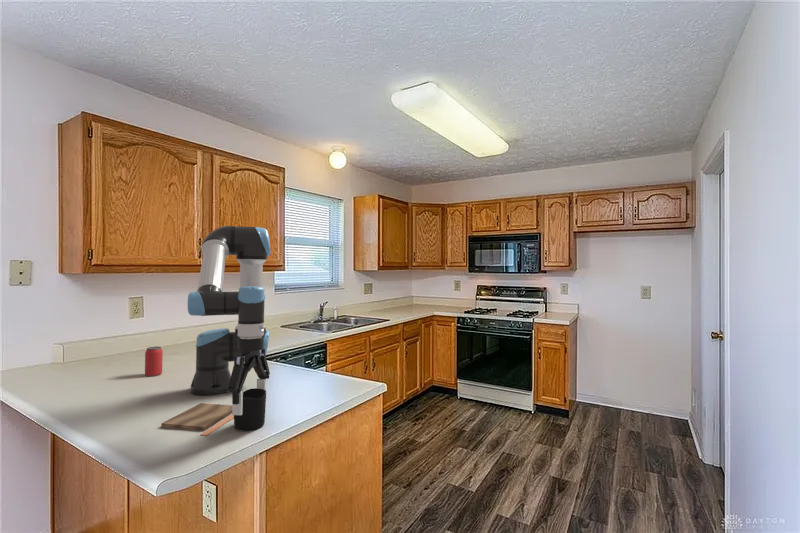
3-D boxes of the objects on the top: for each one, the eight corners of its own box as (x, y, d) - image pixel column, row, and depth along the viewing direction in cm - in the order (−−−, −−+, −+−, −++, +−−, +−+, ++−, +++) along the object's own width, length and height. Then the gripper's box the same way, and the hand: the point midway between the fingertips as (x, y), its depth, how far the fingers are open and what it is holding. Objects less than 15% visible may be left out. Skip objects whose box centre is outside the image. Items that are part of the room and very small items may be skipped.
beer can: (141, 375, 172) (141, 348, 172) (155, 372, 178) (156, 345, 178) (151, 377, 170) (152, 349, 170) (165, 373, 176) (166, 346, 176)
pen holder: (265, 430, 116) (265, 396, 117) (230, 433, 114) (231, 399, 114) (266, 418, 125) (266, 387, 126) (234, 421, 123) (235, 389, 123)
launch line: (200, 435, 112) (200, 434, 112) (245, 406, 136) (245, 405, 136) (206, 436, 112) (206, 434, 112) (251, 406, 136) (251, 406, 136)
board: (161, 427, 118) (161, 423, 118) (200, 406, 135) (200, 403, 135) (203, 430, 115) (204, 426, 115) (238, 409, 133) (238, 405, 133)
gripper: (239, 344, 107) (238, 422, 106) (280, 331, 132) (280, 395, 131) (214, 343, 108) (213, 421, 108) (260, 330, 133) (259, 393, 132)
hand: (249, 406), depth 119 cm, fingers open, 13 cm apart
